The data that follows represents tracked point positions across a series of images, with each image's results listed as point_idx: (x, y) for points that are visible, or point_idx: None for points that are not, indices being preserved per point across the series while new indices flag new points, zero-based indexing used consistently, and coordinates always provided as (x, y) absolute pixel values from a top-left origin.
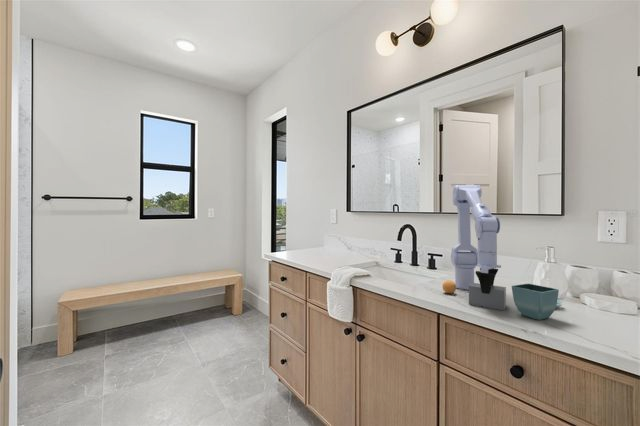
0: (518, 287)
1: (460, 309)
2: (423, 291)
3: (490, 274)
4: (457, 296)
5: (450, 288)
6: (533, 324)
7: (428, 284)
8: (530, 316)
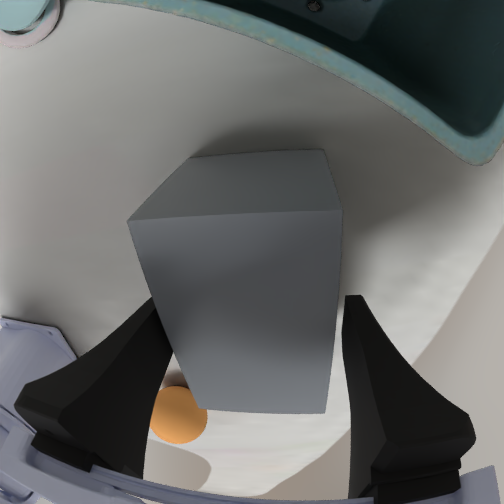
0: None
1: (432, 327)
2: (238, 437)
3: (466, 450)
4: None
5: (200, 413)
6: None
7: None
8: (394, 2)
